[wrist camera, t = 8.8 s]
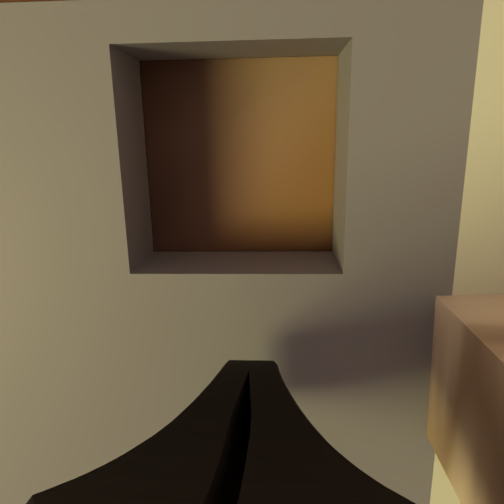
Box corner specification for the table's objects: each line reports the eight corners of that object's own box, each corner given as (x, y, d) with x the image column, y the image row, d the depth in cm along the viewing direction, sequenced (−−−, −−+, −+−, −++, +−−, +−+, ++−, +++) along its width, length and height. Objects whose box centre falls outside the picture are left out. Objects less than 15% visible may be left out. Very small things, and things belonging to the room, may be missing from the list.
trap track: (563, 568, 17) (646, 693, 13) (-44, 546, 19) (-127, 652, 15) (683, 7, 12) (873, -53, 8) (-165, 33, 14) (-341, -8, 10)
